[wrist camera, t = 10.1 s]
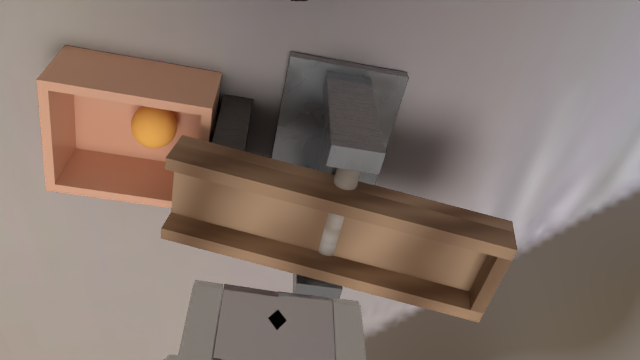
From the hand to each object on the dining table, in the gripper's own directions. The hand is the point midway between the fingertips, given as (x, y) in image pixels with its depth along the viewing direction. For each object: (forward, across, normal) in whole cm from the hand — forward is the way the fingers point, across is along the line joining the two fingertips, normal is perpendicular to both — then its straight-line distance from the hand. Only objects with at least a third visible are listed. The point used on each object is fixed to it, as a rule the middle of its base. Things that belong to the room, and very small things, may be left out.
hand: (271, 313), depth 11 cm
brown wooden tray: (+20, -5, +14) cm, 25 cm away
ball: (+27, +7, +14) cm, 31 cm away
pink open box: (+29, +8, +14) cm, 33 cm away
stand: (+29, -3, +14) cm, 32 cm away
